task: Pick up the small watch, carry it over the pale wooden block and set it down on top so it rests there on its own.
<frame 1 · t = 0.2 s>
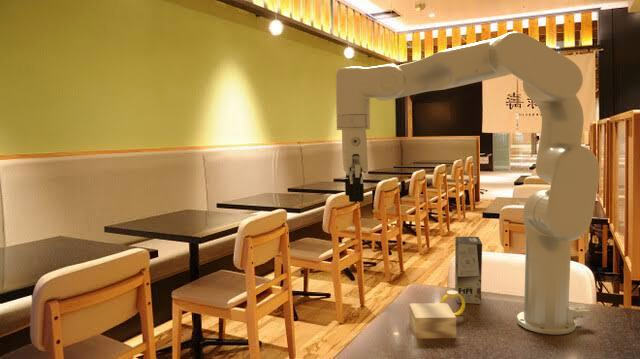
hand: (354, 198, 119), 31 cm above the table, tool pointing down, fingers open, 9 cm apart
wood block: (431, 331, 120), on the table
watch: (452, 315, 129), on the table
coffee box: (467, 298, 141), on the table
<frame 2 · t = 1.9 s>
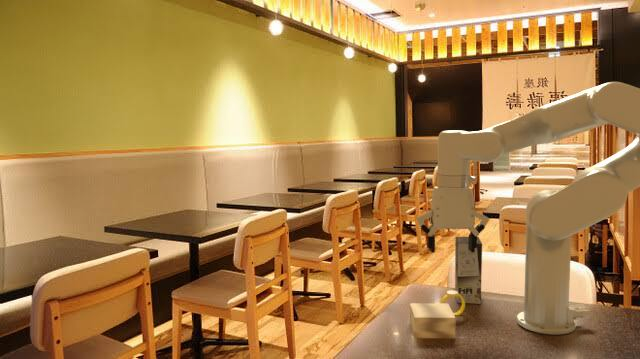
hand: (451, 251, 127), 16 cm above the table, tool pointing down, fingers open, 9 cm apart
nothing on the table moved.
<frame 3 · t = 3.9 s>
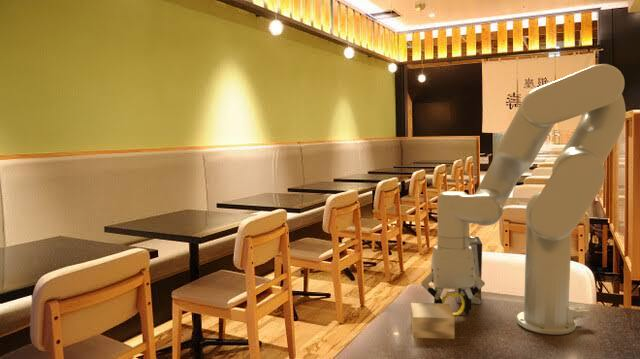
hand: (452, 312, 129), 1 cm above the table, tool pointing down, fingers closed on watch, 6 cm apart
watch: (452, 315, 129), on the table, touching gripper
everything else where it was.
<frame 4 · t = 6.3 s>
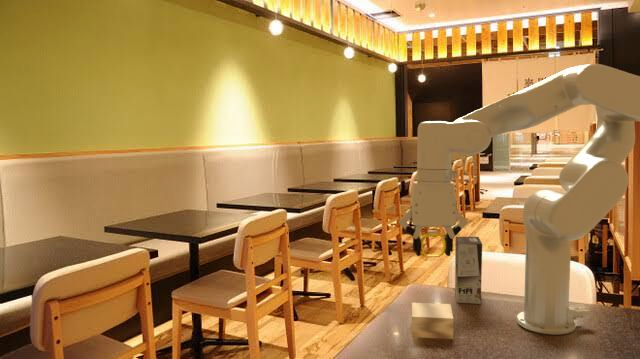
hand: (432, 253, 119), 18 cm above the table, tool pointing down, fingers closed on watch, 6 cm apart
watch: (432, 257, 119), point 17 cm above the table, touching gripper
everything else where it was.
when the fingers open (7 cm above the table, at t = 8.8 s): watch drops 2 cm, resting on wood block.
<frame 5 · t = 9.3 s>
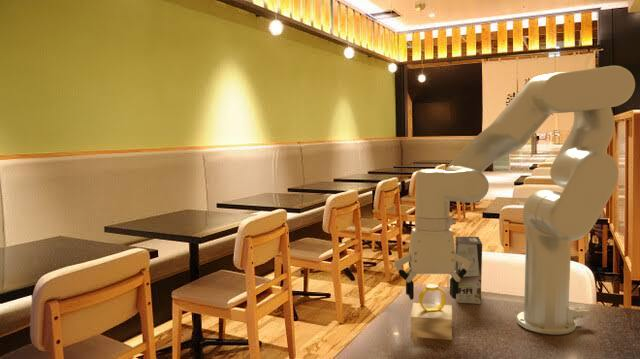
hand: (431, 297, 119), 8 cm above the table, tool pointing down, fingers open, 9 cm apart
wood block: (431, 331, 120), on the table, touching watch
watch: (432, 311, 119), point 4 cm above the table, touching wood block
everything else where it was.
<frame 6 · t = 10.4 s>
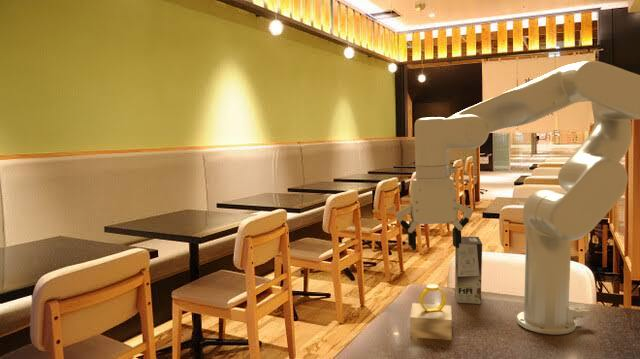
hand: (434, 247, 118), 19 cm above the table, tool pointing down, fingers open, 9 cm apart
nothing on the table moved.
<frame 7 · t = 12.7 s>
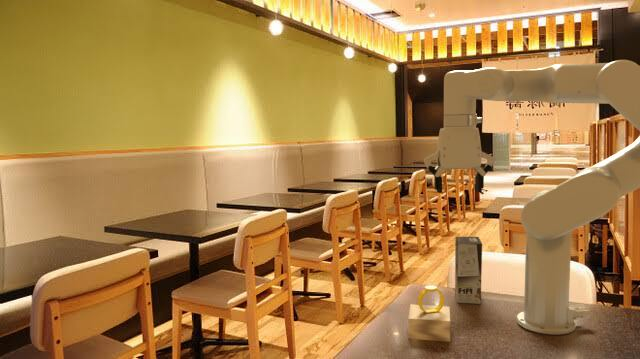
hand: (458, 192, 128), 30 cm above the table, tool pointing down, fingers open, 9 cm apart
wood block: (429, 333, 119), on the table, touching watch
at the end: watch inside the target area on the wood block (0.4 cm from its centre), point 4.8 cm above the wood block's base; watch tilted 0°; the gripper is holding nothing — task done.
